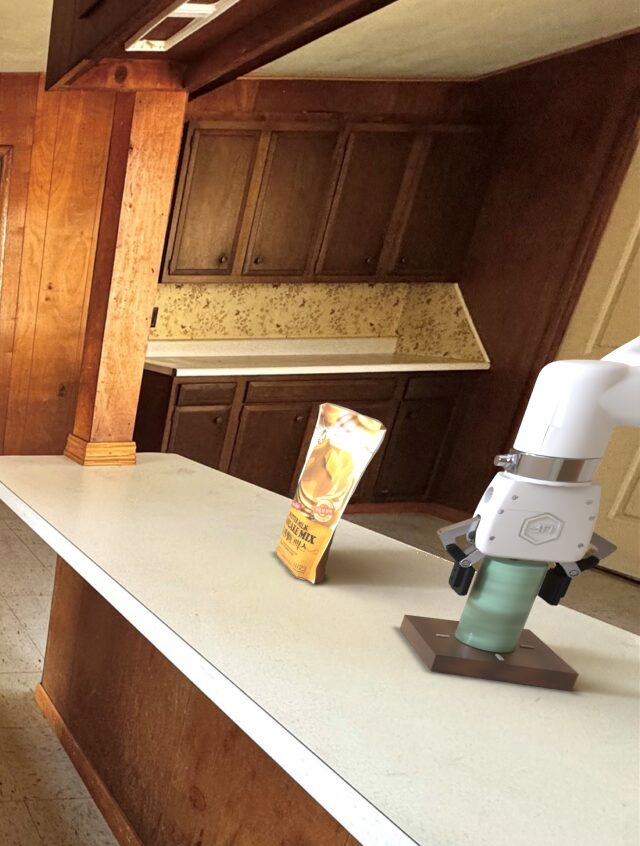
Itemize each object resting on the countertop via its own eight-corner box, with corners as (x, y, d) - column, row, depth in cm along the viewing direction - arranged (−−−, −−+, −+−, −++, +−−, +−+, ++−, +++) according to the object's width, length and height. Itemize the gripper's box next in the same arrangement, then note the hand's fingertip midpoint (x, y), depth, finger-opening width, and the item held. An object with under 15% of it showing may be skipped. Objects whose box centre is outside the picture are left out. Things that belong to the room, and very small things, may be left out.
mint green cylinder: (524, 656, 85) (560, 568, 80) (464, 648, 87) (496, 562, 82) (503, 634, 90) (535, 551, 85) (447, 627, 92) (476, 545, 88)
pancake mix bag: (305, 548, 126) (342, 400, 116) (346, 590, 109) (394, 421, 99) (266, 545, 128) (298, 400, 118) (300, 586, 111) (342, 421, 101)
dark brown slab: (523, 645, 92) (530, 628, 91) (571, 691, 82) (579, 673, 81) (399, 629, 97) (404, 613, 96) (430, 671, 87) (436, 653, 86)
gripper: (472, 469, 79) (429, 599, 86) (672, 480, 73) (609, 619, 80) (447, 455, 86) (408, 576, 92) (629, 463, 79) (573, 593, 86)
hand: (501, 595), depth 86 cm, fingers open, 8 cm apart
